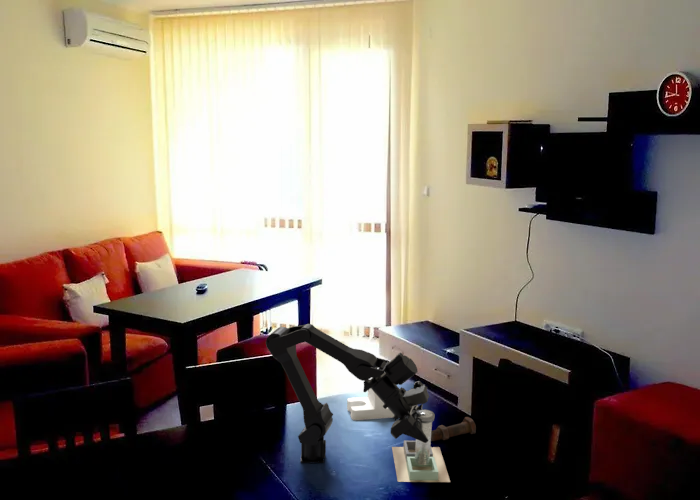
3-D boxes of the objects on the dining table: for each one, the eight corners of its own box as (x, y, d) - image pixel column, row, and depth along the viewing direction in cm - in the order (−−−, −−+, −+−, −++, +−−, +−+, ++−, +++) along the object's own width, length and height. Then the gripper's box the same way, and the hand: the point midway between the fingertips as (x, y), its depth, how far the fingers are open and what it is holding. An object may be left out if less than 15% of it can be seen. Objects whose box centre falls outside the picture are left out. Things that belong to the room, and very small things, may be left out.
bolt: (428, 447, 190) (469, 436, 197) (436, 446, 186) (478, 435, 192) (423, 427, 192) (464, 417, 198) (431, 426, 187) (473, 415, 194)
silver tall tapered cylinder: (410, 464, 169) (413, 416, 166) (414, 454, 174) (416, 407, 171) (430, 467, 167) (433, 419, 165) (433, 457, 172) (435, 410, 170)
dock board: (397, 485, 167) (397, 481, 167) (391, 449, 185) (391, 446, 184) (450, 485, 167) (450, 482, 167) (439, 450, 185) (439, 447, 185)
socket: (409, 480, 167) (409, 471, 167) (406, 464, 175) (406, 456, 174) (437, 480, 168) (438, 471, 167) (433, 465, 175) (434, 456, 175)
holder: (406, 461, 176) (406, 453, 176) (403, 448, 184) (403, 440, 183) (432, 462, 177) (432, 454, 176) (428, 448, 184) (429, 440, 183)
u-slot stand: (346, 407, 211) (347, 377, 209) (398, 404, 215) (399, 374, 213) (352, 421, 202) (353, 389, 200) (406, 417, 206) (407, 386, 203)
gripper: (405, 390, 158) (446, 438, 157) (417, 364, 176) (455, 406, 175) (373, 415, 162) (413, 461, 161) (388, 386, 179) (425, 428, 179)
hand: (428, 437), depth 169 cm, fingers closed on silver tall tapered cylinder, 4 cm apart
